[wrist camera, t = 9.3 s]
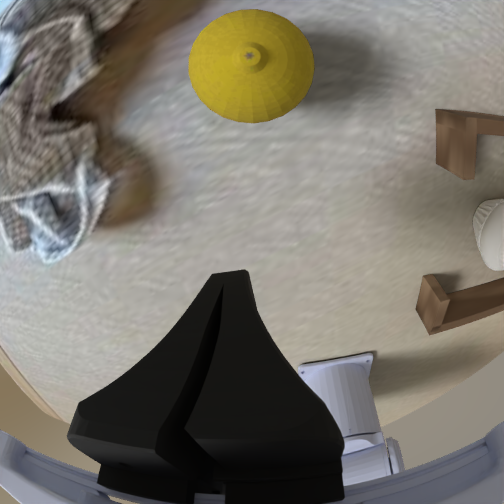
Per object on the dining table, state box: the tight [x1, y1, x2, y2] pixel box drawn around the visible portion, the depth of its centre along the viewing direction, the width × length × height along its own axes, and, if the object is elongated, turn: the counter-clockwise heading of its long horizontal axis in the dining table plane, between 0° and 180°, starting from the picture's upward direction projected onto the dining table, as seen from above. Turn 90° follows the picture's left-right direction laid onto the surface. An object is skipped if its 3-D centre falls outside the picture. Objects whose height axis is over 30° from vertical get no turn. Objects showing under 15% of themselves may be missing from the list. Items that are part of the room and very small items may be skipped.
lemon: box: [189, 9, 315, 123], centre depth 11 cm, size 6×6×8 cm
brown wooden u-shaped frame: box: [416, 109, 504, 335], centre depth 17 cm, size 18×14×4 cm
